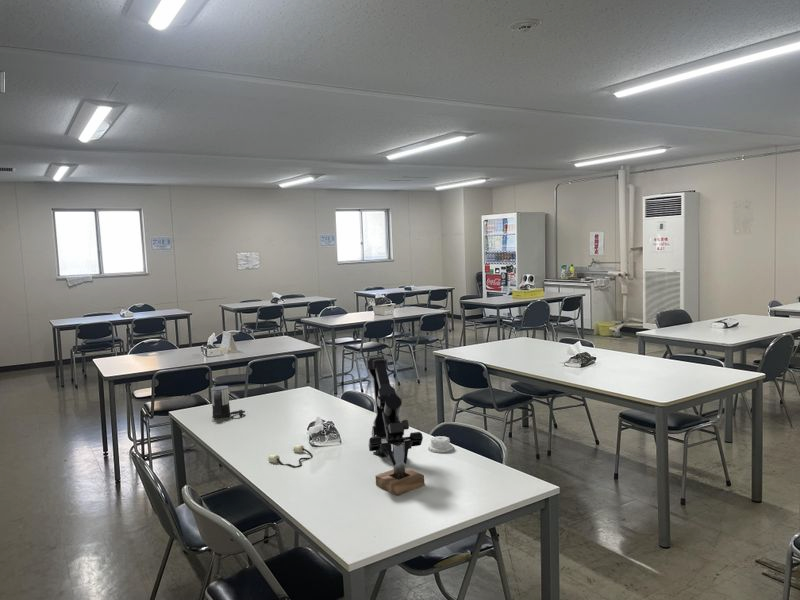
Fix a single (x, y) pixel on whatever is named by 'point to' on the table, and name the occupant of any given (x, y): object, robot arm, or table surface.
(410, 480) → the walnut bore block
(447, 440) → the mechanical component
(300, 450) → the cable
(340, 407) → the table surface
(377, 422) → the robot arm
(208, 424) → the table surface
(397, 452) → the steel pin
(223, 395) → the milk frother
